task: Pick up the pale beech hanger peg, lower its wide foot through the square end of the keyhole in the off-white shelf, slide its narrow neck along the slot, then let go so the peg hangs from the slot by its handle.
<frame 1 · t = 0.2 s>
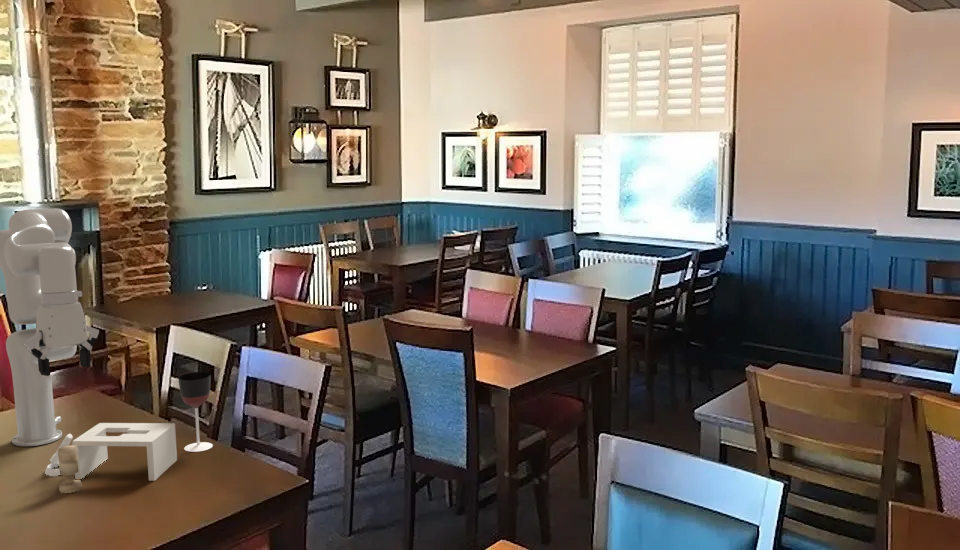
hand: (65, 370, 198), 29 cm above the table, tool pointing down, fingers open, 9 cm apart
keyhole shelf: (127, 469, 215), on the table
hook: (61, 471, 215), on the table
wineglass: (198, 447, 231), on the table
hanger peg: (70, 489, 203), on the table
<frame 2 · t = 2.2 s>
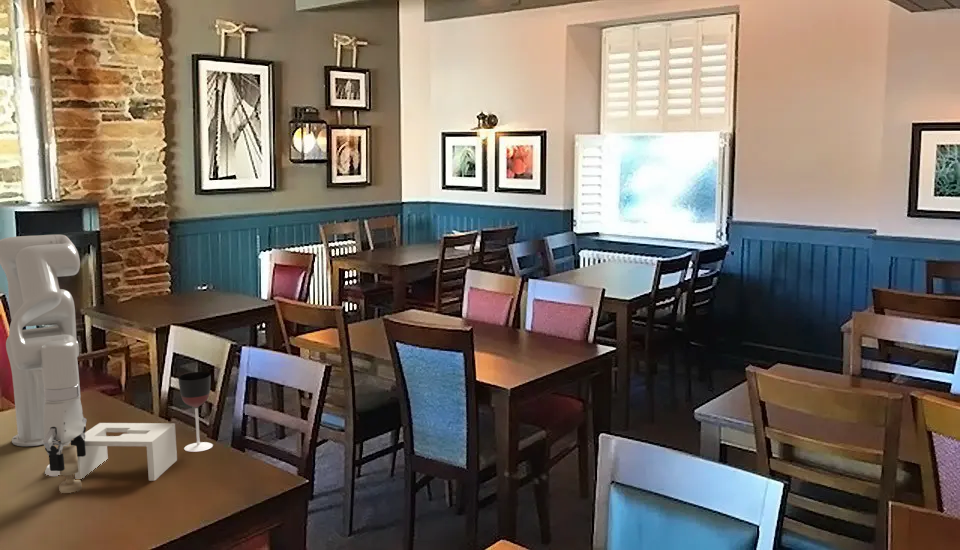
hand: (68, 463, 201), 7 cm above the table, tool pointing down, fingers open, 9 cm apart
nothing on the table moved.
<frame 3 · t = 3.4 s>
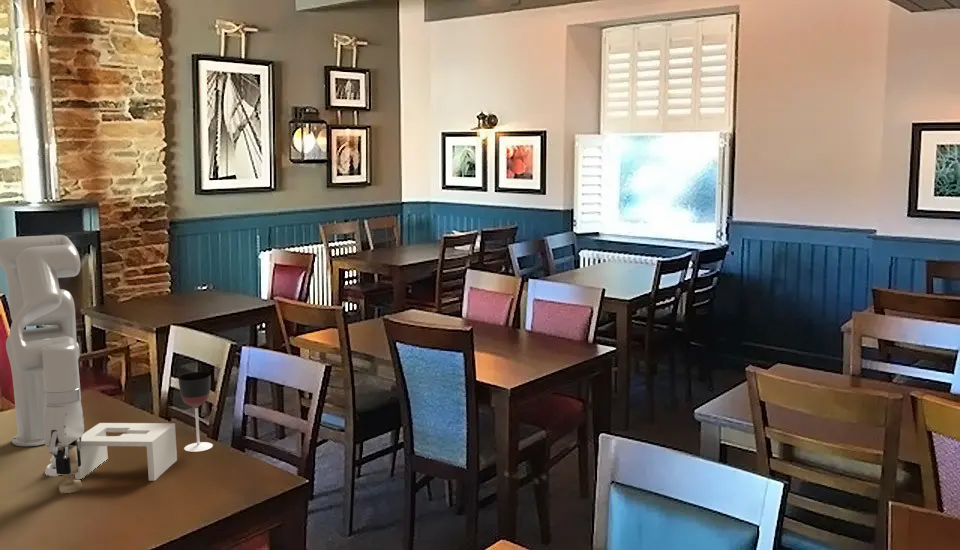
hand: (69, 469, 202), 5 cm above the table, tool pointing down, fingers closed on hanger peg, 4 cm apart
hanger peg: (70, 489, 203), on the table, touching gripper
everything else where it was.
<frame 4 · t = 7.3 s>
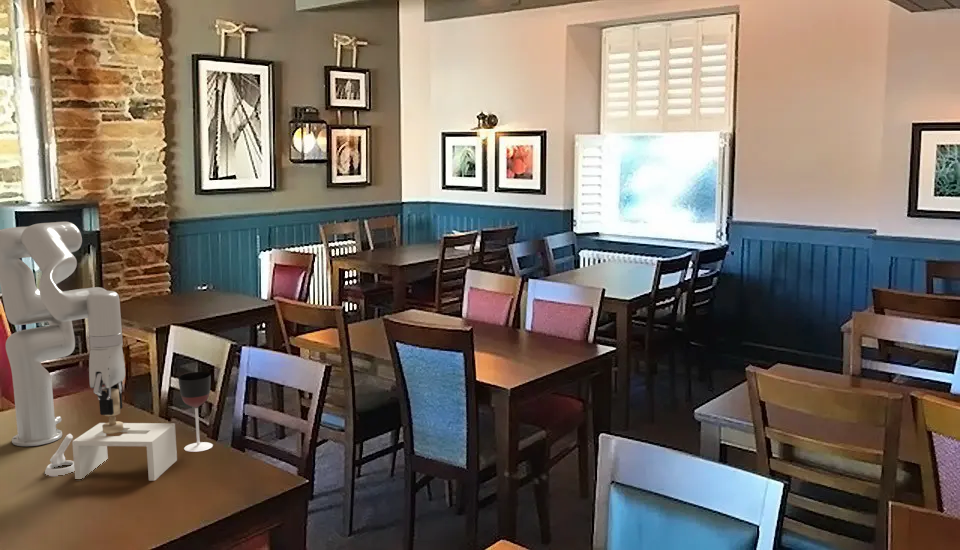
hand: (111, 410, 213), 16 cm above the table, tool pointing down, fingers closed on hanger peg, 4 cm apart
hanger peg: (113, 430, 214), point 10 cm above the table, touching gripper
everything else where it was.
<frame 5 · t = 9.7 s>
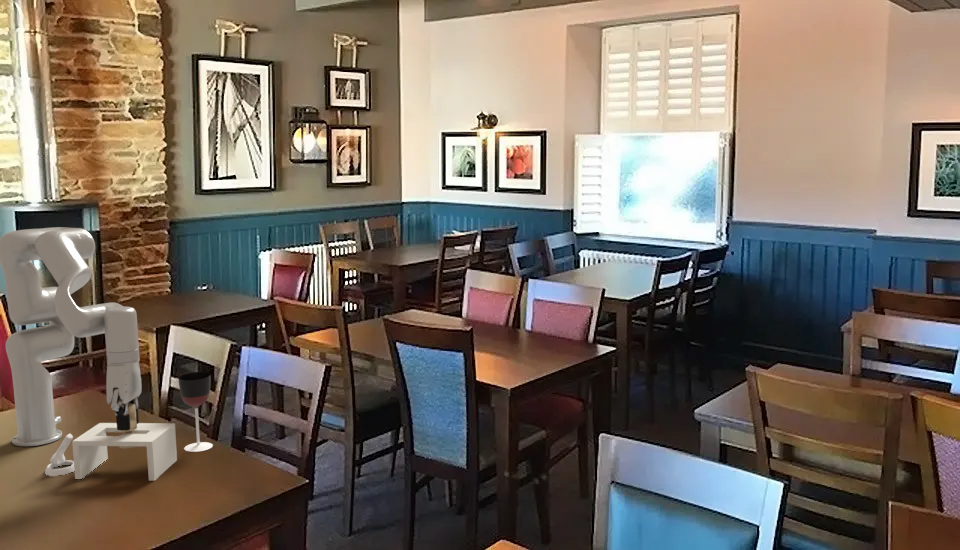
hand: (128, 426, 213), 12 cm above the table, tool pointing down, fingers closed on hanger peg, 4 cm apart
hanger peg: (129, 445, 214), point 6 cm above the table, touching gripper
everything else where it was.
when the fingers open (11 cm above the table, at t = 11.7 s): hanger peg stays where it is, resting on keyhole shelf.
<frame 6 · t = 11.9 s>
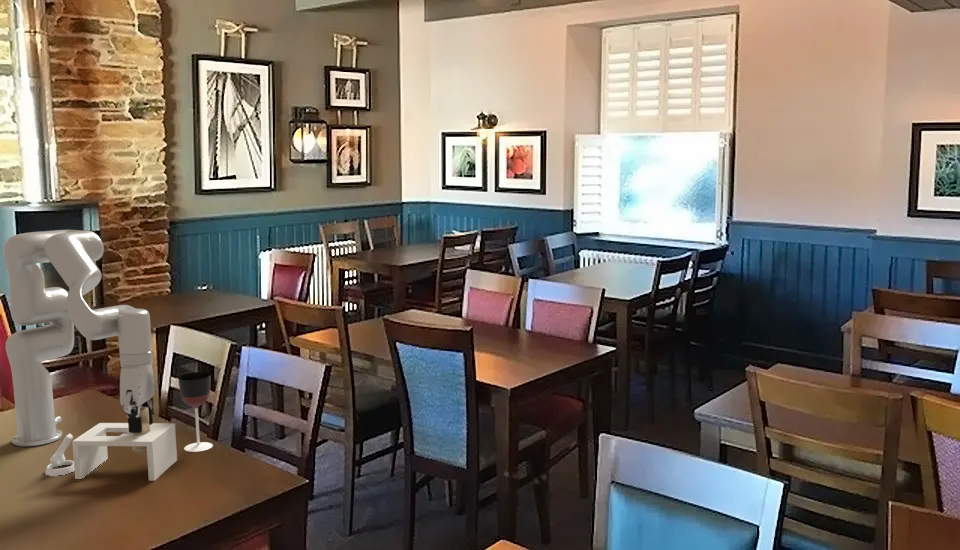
hand: (141, 427, 213), 11 cm above the table, tool pointing down, fingers open, 5 cm apart
hanger peg: (142, 448, 214), point 6 cm above the table, touching keyhole shelf
everything else where it was.
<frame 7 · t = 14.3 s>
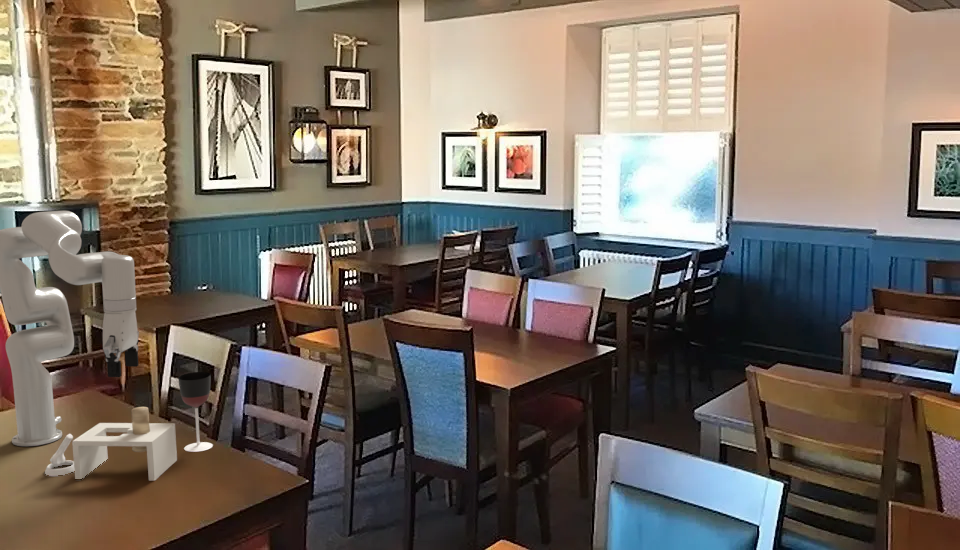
hand: (123, 371, 213), 25 cm above the table, tool pointing down, fingers open, 9 cm apart
nothing on the table moved.
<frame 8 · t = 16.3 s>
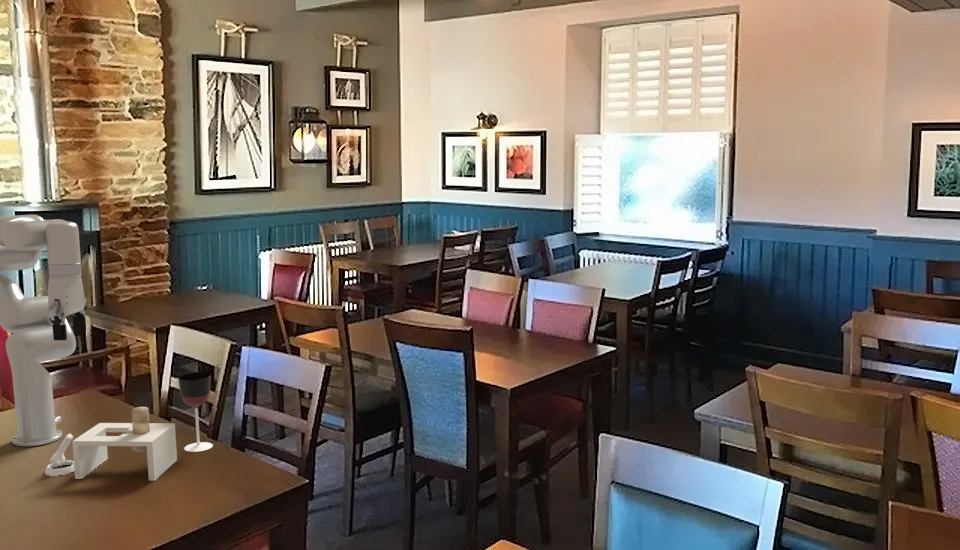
hand: (70, 335, 218), 33 cm above the table, tool pointing down, fingers open, 9 cm apart
nothing on the table moved.
at the end: hanger peg 0.5 cm from the target spot on the keyhole shelf, point 5.6 cm above the keyhole shelf's base; the gripper is holding nothing; hanger peg tilted 0° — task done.
